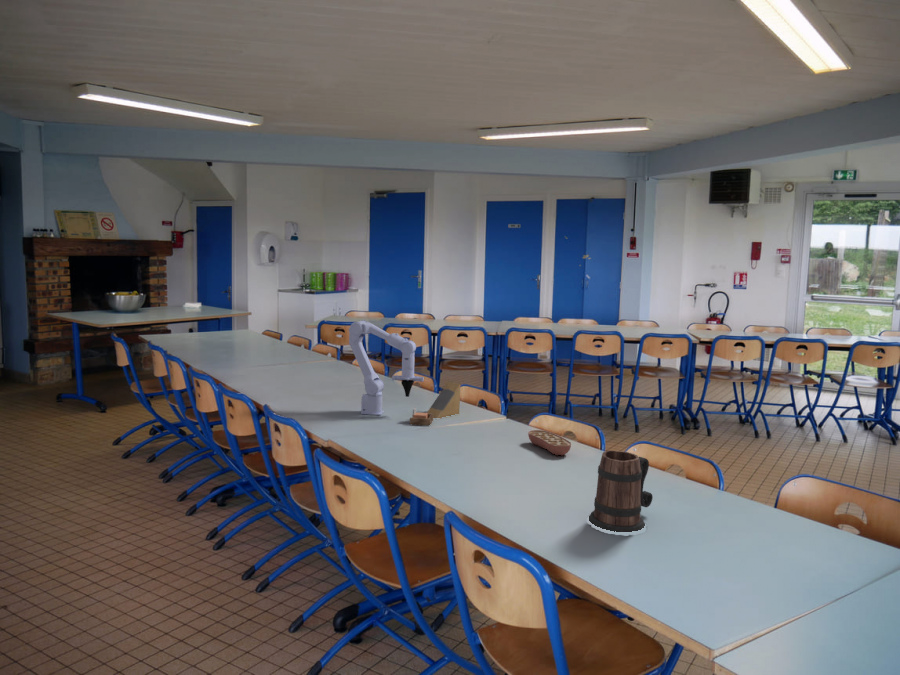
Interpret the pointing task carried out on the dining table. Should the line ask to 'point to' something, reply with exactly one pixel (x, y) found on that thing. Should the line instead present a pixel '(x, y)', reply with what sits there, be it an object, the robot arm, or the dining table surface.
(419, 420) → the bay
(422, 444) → the dining table surface
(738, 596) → the dining table surface
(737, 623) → the dining table surface
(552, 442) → the brown bread loaf
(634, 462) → the tankard
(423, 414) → the cart
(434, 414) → the sandwich container
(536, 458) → the dining table surface
